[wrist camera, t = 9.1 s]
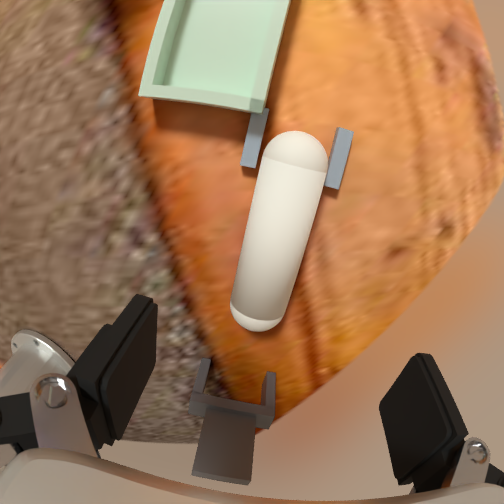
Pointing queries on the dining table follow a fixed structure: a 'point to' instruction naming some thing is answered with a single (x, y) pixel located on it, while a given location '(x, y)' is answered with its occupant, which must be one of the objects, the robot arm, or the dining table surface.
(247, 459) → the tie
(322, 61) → the dining table surface
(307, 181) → the capsule
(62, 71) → the dining table surface
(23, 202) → the dining table surface
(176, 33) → the tray
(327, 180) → the pair of grey bars
